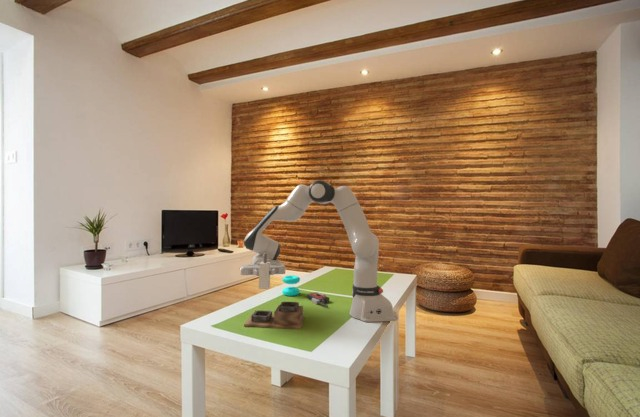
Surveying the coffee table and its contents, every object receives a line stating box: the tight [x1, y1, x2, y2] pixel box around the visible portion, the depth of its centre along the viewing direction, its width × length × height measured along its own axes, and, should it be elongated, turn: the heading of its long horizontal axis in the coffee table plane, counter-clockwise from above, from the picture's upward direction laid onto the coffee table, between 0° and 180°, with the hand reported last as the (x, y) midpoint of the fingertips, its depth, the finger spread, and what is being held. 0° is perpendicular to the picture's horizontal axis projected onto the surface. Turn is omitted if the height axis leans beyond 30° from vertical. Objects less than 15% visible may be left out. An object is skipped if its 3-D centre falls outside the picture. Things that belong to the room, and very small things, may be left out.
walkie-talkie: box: [306, 291, 330, 308], centre depth 169 cm, size 9×4×20 cm
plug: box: [258, 253, 271, 290], centre depth 140 cm, size 4×5×15 cm
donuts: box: [282, 275, 301, 297], centre depth 184 cm, size 10×10×10 cm
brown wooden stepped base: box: [243, 301, 305, 330], centre depth 140 cm, size 24×13×8 cm, turn 86°
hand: (264, 273), depth 139 cm, fingers closed on plug, 5 cm apart
